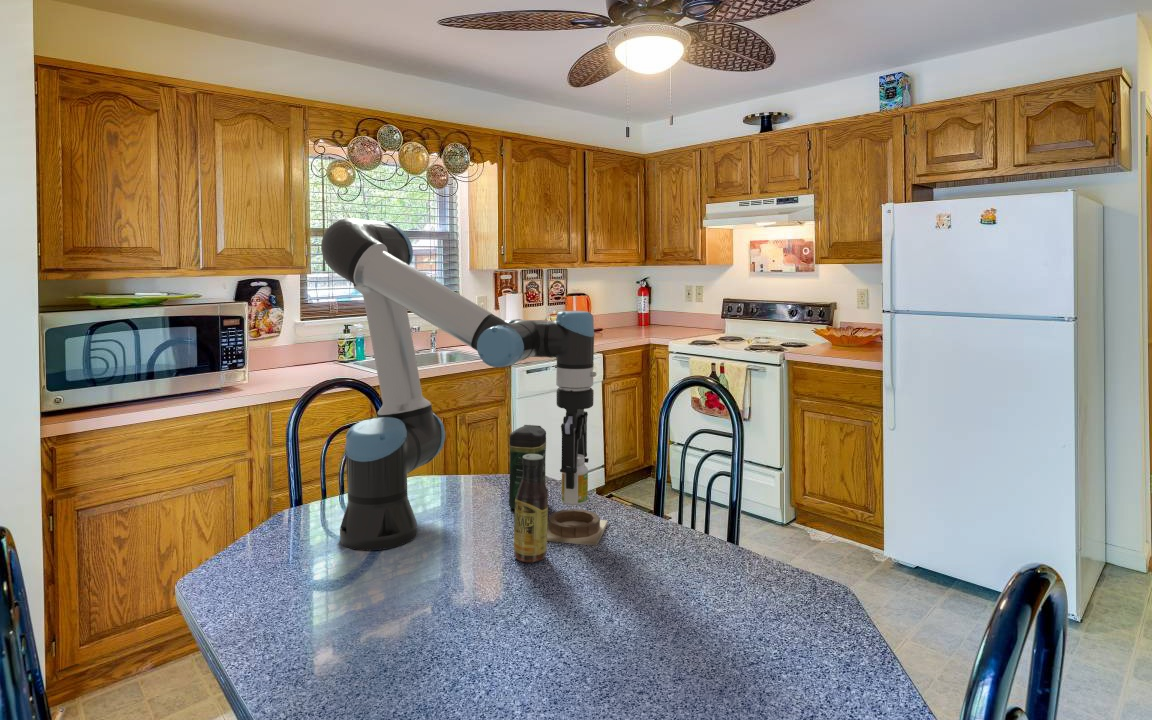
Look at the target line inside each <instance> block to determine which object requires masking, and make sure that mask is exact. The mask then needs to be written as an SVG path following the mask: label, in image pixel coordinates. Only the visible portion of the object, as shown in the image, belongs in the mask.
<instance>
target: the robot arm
mask: <svg viewBox="0 0 1152 720" xmlns="http://www.w3.org/2000/svg"><path fill="white" fill-rule="evenodd" d="M320 247H321V255H322V258H323V259H324V261H325V263H326V265H327V266H328V267H329V269H331V270H332V271H333V272H334V273H336V274H337V275H338V276H341V277H342V278H343V279H345V280H347V281H348V282H350V283H352V284H353V288H354V290H356V291H357V292H359V294H360V295H362V297H363V302H364V307H365V314H366V319H367V324H368V331H369V334H370V340H371V347H372V352H373V357H374V362H375V368H376V372H377V378H378V379H377V380H378V385H379V389H380V396H381V400H382V401H381V402H382V405H381V406H380V407H379V410H377V417H373V418H371V419H364V420H362V421H359V422H357V423H354V424H353V425H351V426H350V428H348V430H347V432H346V435H345V445H344V452H345V461H346V464H345V465H346V466H345V467H346V485H347V486H346V487H347V505H346V508H345V511H344V514H343V517H342V522H341V525H340V527H339V540H340V543H341V544H342V545H343V546H344V547H346V548H349V549H352V550H358V551H359V550H360V551H381V550H388V549H392V548H396V547H399V546H402V545H405V544H407V543H409V542H411V541H413V540H414V539H415V538H416V536H417V535H418V522H417V518H416V516H415V513H414V510H413V508H412V506H411V502H410V500H409V495H408V494H409V493H408V474H409V473H411V472H412V471H414V470H416V469H418V468H420V467H422V466H425V465H427V464H429V463H430V462H431V461H432V460H434V458H436V456H438V455H439V454H440V452H441V451H442V449H443V448H444V445H445V441H446V431H445V426H444V423H443V421H442V420H441V418H440V417H439V416H437V415H436V413H434V411H433V407H432V402H431V401H430V400H429V399H427V398H425V397H424V396H423V391H422V386H421V385H422V384H421V381H420V380H421V379H420V375H419V374H420V373H419V369H418V364H417V358H416V351H415V347H414V341H413V334H412V331H411V325H410V318H409V314H408V313H409V312H408V311H410V312H411V313H413V314H414V315H416V316H418V317H419V318H420V319H422V320H425V321H426V322H427V323H429V324H431V325H433V326H435V327H437V328H438V329H439V330H441V331H443V332H445V333H446V334H448V335H450V337H451V336H452V338H455V339H457V340H458V341H460V342H462V343H463V344H465V345H466V346H468V347H470V348H472V349H474V350H475V351H477V353H478V356H479V358H480V359H481V360H482V362H483V363H485V364H486V365H488V366H490V367H492V368H505V367H506V368H507V367H510V366H513V365H515V364H517V363H519V362H520V361H524V360H527V359H529V358H551V359H552V358H555V359H556V386H557V387H558V388H557V389H556V406H557V407H558V408H560V409H564V410H565V416H563V419H562V422H563V423H561V425H560V429H561V468H560V469H559V472H560V473H562V472H564V503H563V504H565V503H570V504H578V472H577V457H578V454H581V455H584V457H585V461H584V462H585V463H584V464H583V465H585V464H588V463H589V458H587V457H588V452H587V451H588V438H587V437H588V415H589V414H588V411H585V410H586V409H587V410H588V409H590V408H592V407H593V406H594V389H593V388H592V387H593V386H594V377H597V372H596V371H594V358H595V357H594V356H595V355H594V353H595V336H596V335H595V327H594V326H595V325H594V316H593V314H592V313H591V312H590V311H583V310H562V311H561V310H560V311H559V312H557V314H556V318H555V320H536V319H534V320H532V319H531V320H530V319H520V318H519V319H518V318H516V319H506V320H504V319H502V318H500V317H498V316H496V315H495V314H493V313H492V312H490V311H488V310H487V309H486V308H483V307H481V306H480V305H479V304H476V302H473V301H471V300H469V298H466V297H465V296H463V295H461V294H460V293H459V292H456V291H454V290H452V289H451V288H449V287H447V286H446V285H444V284H442V283H440V282H439V281H437V280H435V278H434V279H433V278H432V277H430V276H428V275H427V274H425V273H423V272H422V271H420V270H418V269H416V268H415V267H414V266H412V265H411V263H412V262H413V256H414V250H413V244H412V241H411V240H410V238H409V236H408V235H407V234H406V232H405V231H404V230H403V229H401V228H400V227H398V225H395V224H392V223H389V222H386V221H383V220H371V219H370V220H367V219H361V218H355V217H349V218H348V217H347V218H343V219H339V220H337V221H334V223H332V224H330V226H329V227H327V229H326V230H325V232H324V233H323V236H322V239H321V245H320ZM585 466H586V465H585Z"/></svg>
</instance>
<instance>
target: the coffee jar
mask: <svg viewBox="0 0 1152 720" xmlns="http://www.w3.org/2000/svg"><path fill="white" fill-rule="evenodd" d="M508 441H509V445H508V446H509V486H508V488H509V491H508V506H509V508H510V509H514V510H515V498H516V495H517V492H518V489H519V486H520V483H521V480H522V476H523V465H522V457H523V456H524V455H526V454H539V455H542V456H543V457H544V464H543V470H542V476H543V478H542V479H543V482H544V485H545V486H546V453H547V431H546V429H544V428H543V427H542V426H541V425H534V424H524V425H523V426H521V427H519V428H516V429H515V430H513V431H512V432H511V433H510V434H509V440H508Z"/></svg>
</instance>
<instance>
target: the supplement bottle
mask: <svg viewBox="0 0 1152 720" xmlns="http://www.w3.org/2000/svg"><path fill="white" fill-rule="evenodd" d="M585 458H586V457H584V455H581V454H578V457H577V472H578V504H570V503H564V472H561V501H562V503H563V504H564V505H567V506H582V505H585V504H587V502H588V500H589V499H588V497H589V492H588V490H589V489H588V488H589V485H588V483H589V481H588V480H589V479H588V478H589V475H588V474H589V472H588V470H589V469H588V467H587V466H586V465H583V464H586V463H585V462H584V461H585Z"/></svg>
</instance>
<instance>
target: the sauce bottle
mask: <svg viewBox="0 0 1152 720" xmlns="http://www.w3.org/2000/svg"><path fill="white" fill-rule="evenodd" d="M543 464H544V457H543V456H542V455H539V454H526V455H524V456H523V457H522V465H523V476H522V480H521V483H520V486H519V489H518V492H517V495H516V498H515V509H514V523H513V525H514V527H513V554H514V557H515V558H516V560H518V561H519V562H524V563H527V564H529V563H530V564H532V563H536V562H540V561H542V560H543V559H545V557H546V554H547V548H548V547H547V545H548V544H547V543H548V541H547V524H548V518H549V516H548V515H549V502H548V501H549V500H548V499H549V492H548V488H547V487H546V486H545V485H544V482H543V479H542V478H543V476H542V470H543Z"/></svg>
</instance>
